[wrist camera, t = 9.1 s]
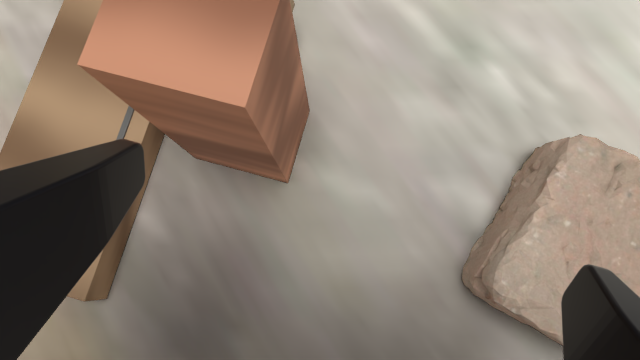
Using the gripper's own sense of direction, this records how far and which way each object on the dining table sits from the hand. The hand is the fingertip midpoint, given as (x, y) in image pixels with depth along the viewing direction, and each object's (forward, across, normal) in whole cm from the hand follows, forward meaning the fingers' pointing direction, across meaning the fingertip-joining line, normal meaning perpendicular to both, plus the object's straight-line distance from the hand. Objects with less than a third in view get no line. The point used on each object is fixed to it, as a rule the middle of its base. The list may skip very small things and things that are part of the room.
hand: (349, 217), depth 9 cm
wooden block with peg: (+14, +6, +5) cm, 16 cm away
